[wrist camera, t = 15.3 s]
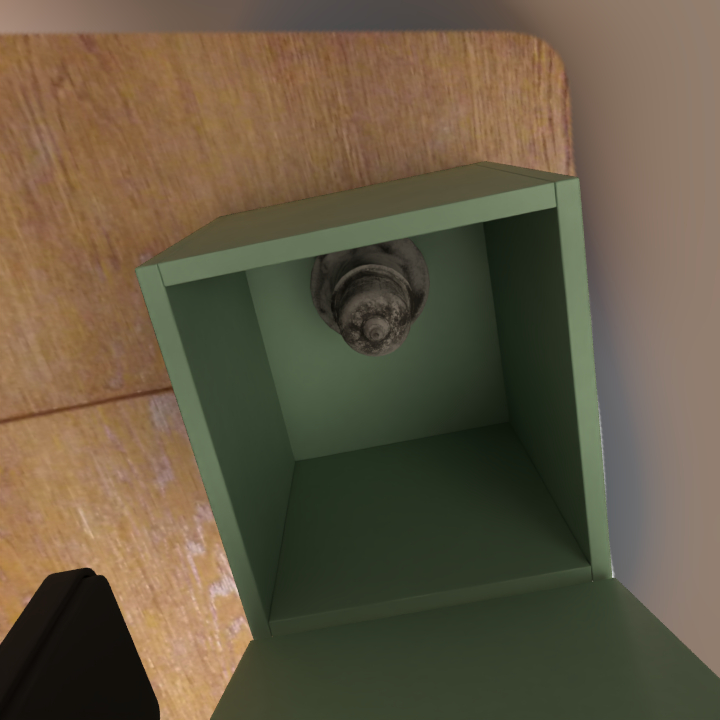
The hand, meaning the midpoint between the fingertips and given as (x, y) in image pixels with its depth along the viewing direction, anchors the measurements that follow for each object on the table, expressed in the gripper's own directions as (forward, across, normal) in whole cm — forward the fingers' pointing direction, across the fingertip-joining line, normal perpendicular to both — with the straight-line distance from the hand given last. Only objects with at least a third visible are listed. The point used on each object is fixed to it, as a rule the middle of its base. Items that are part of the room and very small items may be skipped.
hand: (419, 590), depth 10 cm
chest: (+27, 0, +4) cm, 27 cm away
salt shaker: (+26, 0, +1) cm, 27 cm away
